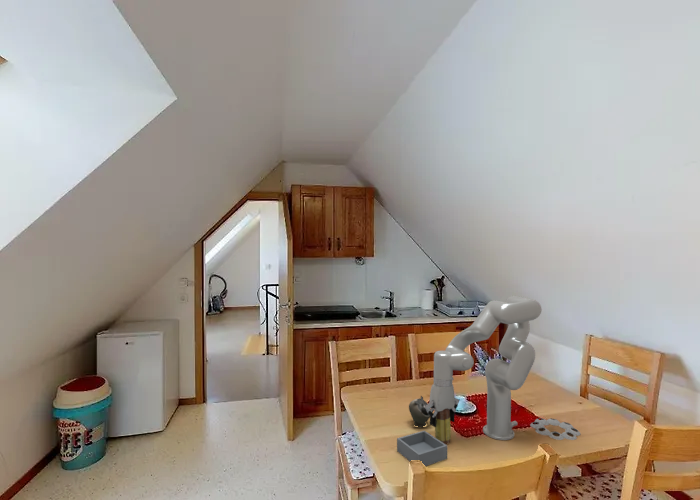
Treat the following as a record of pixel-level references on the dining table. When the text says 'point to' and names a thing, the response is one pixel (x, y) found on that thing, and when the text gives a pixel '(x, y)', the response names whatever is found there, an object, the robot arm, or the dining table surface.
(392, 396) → the dining table surface
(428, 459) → the box
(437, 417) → the sauce bottle
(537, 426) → the grey ring with holes
